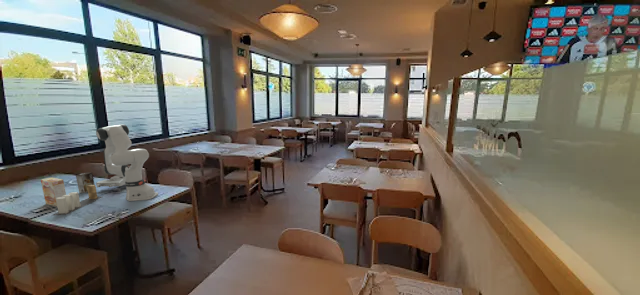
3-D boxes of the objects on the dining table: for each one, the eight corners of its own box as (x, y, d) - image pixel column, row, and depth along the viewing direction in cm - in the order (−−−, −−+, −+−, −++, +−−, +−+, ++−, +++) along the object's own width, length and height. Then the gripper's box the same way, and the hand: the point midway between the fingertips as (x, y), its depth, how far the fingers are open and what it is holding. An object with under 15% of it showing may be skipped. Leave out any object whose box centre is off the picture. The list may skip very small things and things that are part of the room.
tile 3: (74, 209, 192) (72, 194, 190) (72, 210, 190) (69, 195, 188) (67, 209, 192) (64, 194, 190) (65, 210, 190) (62, 195, 188)
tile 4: (68, 212, 187) (65, 197, 185) (66, 213, 185) (63, 198, 183) (61, 212, 187) (58, 197, 185) (58, 213, 185) (55, 198, 183)
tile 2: (80, 206, 197) (78, 192, 195) (78, 207, 195) (75, 193, 193) (73, 206, 197) (71, 192, 194) (71, 207, 195) (68, 193, 192)
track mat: (103, 197, 216) (103, 196, 215) (66, 215, 182) (66, 215, 182) (91, 197, 215) (91, 196, 215) (51, 216, 182) (51, 215, 182)
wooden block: (97, 198, 212) (95, 185, 210) (95, 199, 210) (93, 185, 208) (91, 198, 212) (88, 185, 210) (89, 199, 210) (86, 185, 208)
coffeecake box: (45, 204, 202) (40, 179, 198) (57, 200, 209) (52, 177, 205) (56, 207, 197) (51, 182, 193) (68, 203, 203) (63, 179, 200)
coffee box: (89, 189, 233) (86, 172, 230) (95, 190, 232) (92, 172, 229) (78, 193, 225) (75, 175, 221) (84, 193, 223) (81, 175, 220)
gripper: (102, 177, 234) (90, 183, 221) (126, 177, 235) (115, 182, 222) (104, 184, 236) (91, 190, 222) (127, 184, 237) (116, 189, 223)
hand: (103, 186), depth 222 cm, fingers open, 8 cm apart
